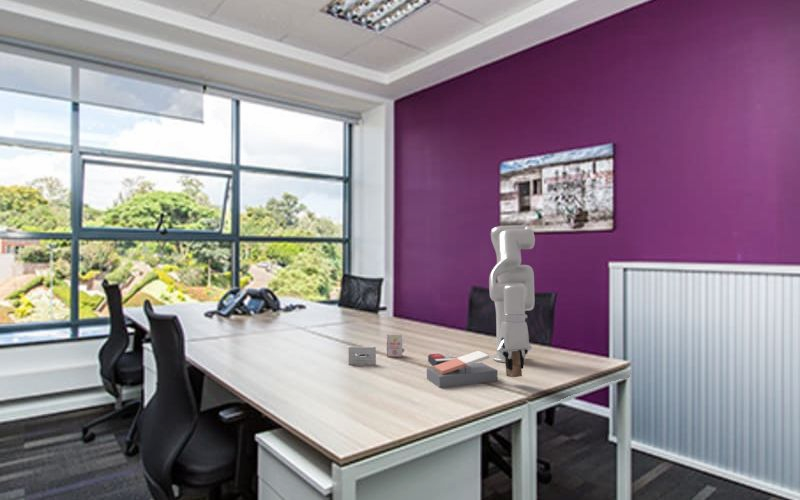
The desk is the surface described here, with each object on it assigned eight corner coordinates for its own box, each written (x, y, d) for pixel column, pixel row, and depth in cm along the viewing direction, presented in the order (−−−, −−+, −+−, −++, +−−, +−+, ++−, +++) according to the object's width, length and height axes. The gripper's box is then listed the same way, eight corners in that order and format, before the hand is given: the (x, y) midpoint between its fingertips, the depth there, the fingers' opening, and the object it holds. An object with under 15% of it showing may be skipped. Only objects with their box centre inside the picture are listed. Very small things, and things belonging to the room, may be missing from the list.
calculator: (451, 352, 204) (461, 358, 189) (451, 361, 203) (462, 368, 189) (427, 353, 202) (436, 359, 187) (428, 363, 202) (436, 370, 187)
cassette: (348, 365, 196) (348, 347, 196) (349, 363, 198) (348, 346, 198) (375, 365, 195) (375, 347, 195) (376, 364, 197) (376, 346, 197)
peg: (515, 375, 168) (513, 350, 169) (522, 376, 164) (519, 351, 165) (506, 376, 167) (504, 351, 168) (512, 377, 163) (510, 351, 164)
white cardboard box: (388, 355, 213) (388, 333, 213) (402, 355, 213) (402, 334, 212) (387, 356, 210) (386, 335, 210) (401, 357, 209) (401, 335, 209)
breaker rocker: (479, 355, 180) (478, 350, 180) (490, 360, 172) (489, 355, 172) (434, 370, 173) (433, 365, 173) (443, 376, 165) (442, 371, 165)
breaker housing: (481, 372, 182) (481, 357, 182) (497, 380, 171) (497, 364, 171) (426, 378, 174) (426, 362, 174) (439, 387, 163) (439, 370, 163)
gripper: (527, 315, 171) (528, 364, 171) (489, 318, 166) (489, 368, 166) (539, 318, 164) (540, 368, 164) (499, 321, 159) (500, 373, 159)
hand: (514, 367), depth 165 cm, fingers closed on peg, 4 cm apart
